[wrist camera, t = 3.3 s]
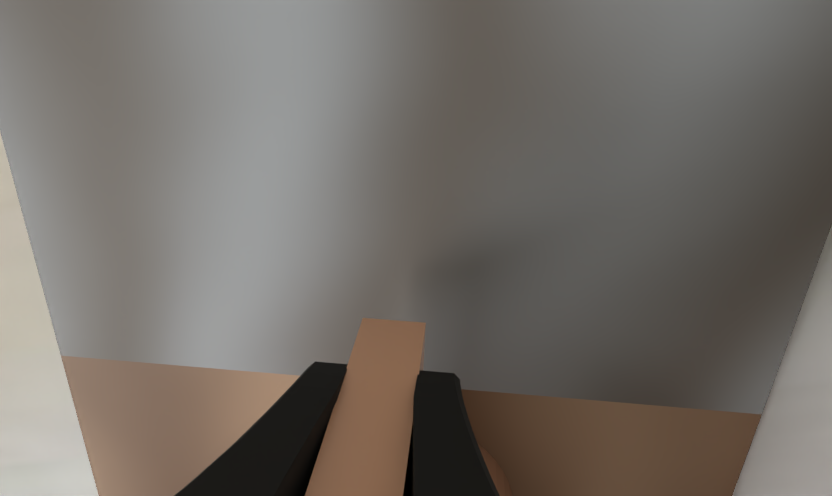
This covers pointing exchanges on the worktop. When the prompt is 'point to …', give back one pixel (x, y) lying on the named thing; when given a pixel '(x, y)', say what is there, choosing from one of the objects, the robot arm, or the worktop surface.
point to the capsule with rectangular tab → (378, 417)
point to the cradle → (426, 217)
